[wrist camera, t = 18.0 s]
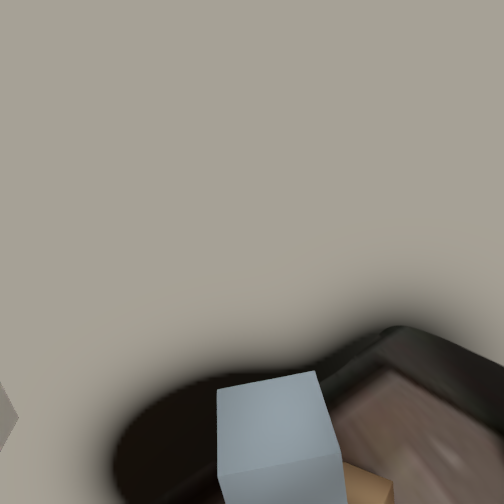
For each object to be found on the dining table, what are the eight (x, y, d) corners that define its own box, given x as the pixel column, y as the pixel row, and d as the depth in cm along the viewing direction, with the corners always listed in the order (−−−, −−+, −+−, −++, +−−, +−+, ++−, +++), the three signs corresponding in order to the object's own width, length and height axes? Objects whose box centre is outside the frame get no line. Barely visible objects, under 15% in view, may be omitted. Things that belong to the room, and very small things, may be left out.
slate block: (242, 482, 39) (216, 389, 35) (328, 465, 39) (314, 370, 35) (248, 578, 32) (217, 476, 27) (354, 558, 32) (341, 452, 27)
